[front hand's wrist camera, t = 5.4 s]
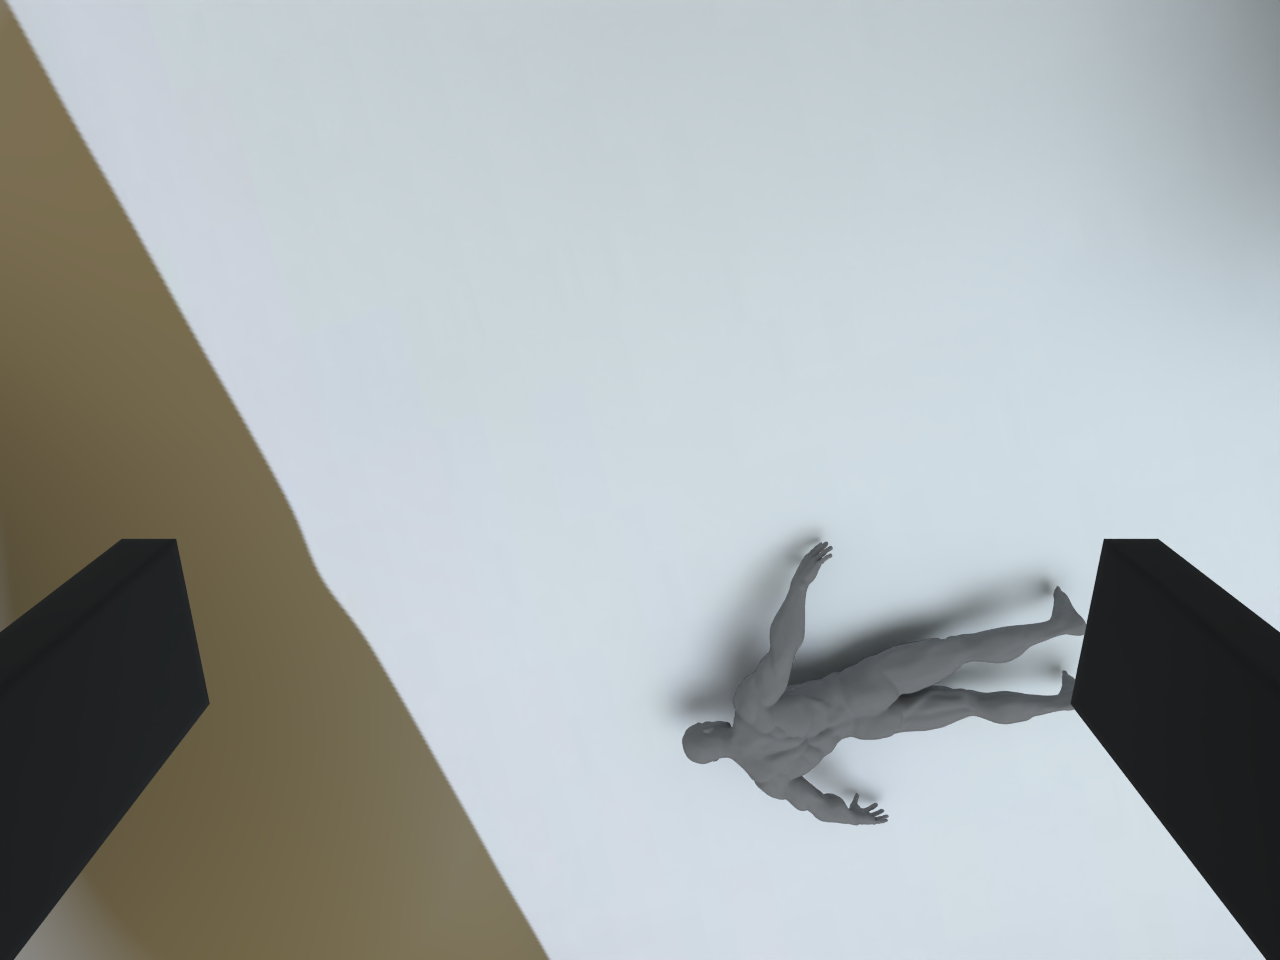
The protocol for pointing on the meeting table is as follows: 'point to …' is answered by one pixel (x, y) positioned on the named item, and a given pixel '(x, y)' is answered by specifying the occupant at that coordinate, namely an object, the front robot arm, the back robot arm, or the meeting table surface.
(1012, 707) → the figurine
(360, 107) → the meeting table surface
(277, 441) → the meeting table surface
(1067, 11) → the meeting table surface
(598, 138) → the meeting table surface
